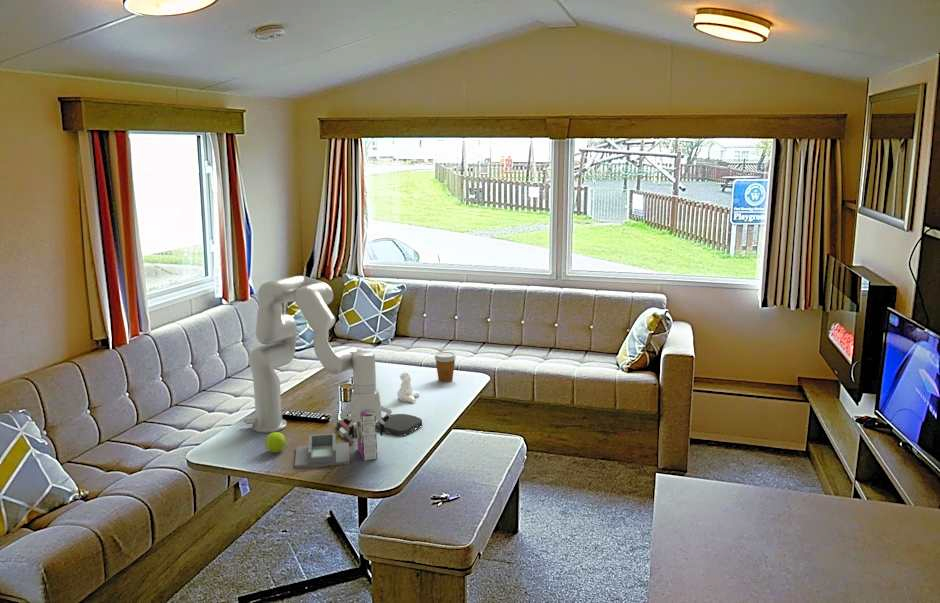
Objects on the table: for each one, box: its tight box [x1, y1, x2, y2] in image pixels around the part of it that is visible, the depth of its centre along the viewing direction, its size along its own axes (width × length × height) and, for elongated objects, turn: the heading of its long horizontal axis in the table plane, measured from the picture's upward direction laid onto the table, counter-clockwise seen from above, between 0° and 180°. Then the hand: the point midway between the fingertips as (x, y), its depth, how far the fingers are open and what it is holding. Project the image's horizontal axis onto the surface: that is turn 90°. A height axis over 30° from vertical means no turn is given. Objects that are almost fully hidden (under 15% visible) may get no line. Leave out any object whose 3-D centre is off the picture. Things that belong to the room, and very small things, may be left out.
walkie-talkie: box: [336, 417, 357, 444], centre depth 279 cm, size 9×4×20 cm
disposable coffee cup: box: [434, 351, 457, 383], centre depth 339 cm, size 10×10×12 cm
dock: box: [294, 433, 351, 469], centre depth 260 cm, size 18×16×5 cm
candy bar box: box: [356, 412, 378, 462], centre depth 260 cm, size 11×5×16 cm, turn 20°
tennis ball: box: [264, 431, 287, 453], centre depth 264 cm, size 7×7×7 cm
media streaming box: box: [376, 413, 423, 436], centre depth 286 cm, size 15×15×3 cm
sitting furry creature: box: [396, 371, 420, 404], centre depth 315 cm, size 10×9×12 cm
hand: (367, 435), depth 260 cm, fingers open, 9 cm apart
